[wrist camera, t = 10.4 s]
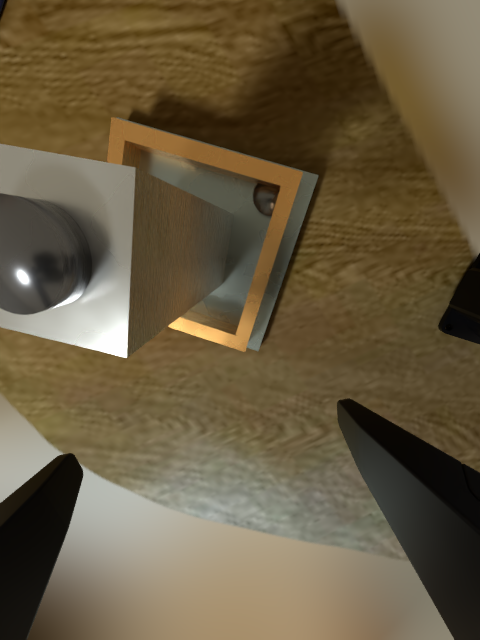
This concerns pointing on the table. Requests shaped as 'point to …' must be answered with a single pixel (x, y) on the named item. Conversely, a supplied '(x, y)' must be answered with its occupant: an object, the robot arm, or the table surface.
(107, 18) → the table surface
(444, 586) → the robot arm
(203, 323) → the wooden frame tray
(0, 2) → the supplement box
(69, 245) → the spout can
